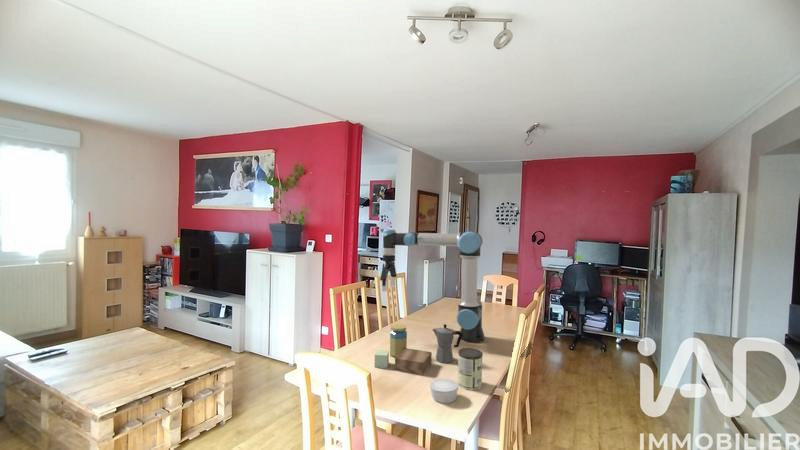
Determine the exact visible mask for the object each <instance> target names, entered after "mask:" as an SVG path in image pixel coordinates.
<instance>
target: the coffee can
mask: <svg viewBox="0 0 800 450" xmlns="http://www.w3.org/2000/svg"><path fill="white" fill-rule="evenodd" d="M457 354H458V356H457V357H458V359H457V361H458V365H457V367H458V372H457V375H458V376H457V384H458V387H459V388H461V389H464V390H467V391H468V390H469V391H477V390H480V389H481V388H482V386H483V384H482V383H483V382H482V381H483V352H482V351H481V350H479V349H476V348H473V347H463V348H460V349H458V352H457Z"/></svg>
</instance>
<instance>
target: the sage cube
mask: <svg viewBox="0 0 800 450" xmlns="http://www.w3.org/2000/svg"><path fill="white" fill-rule="evenodd" d="M389 357H390V350H380V349H378V350H377V349H376V351H375V354H374V368H379V369H380V368H381V369H387V368H388V365H389V362H390V361H389Z"/></svg>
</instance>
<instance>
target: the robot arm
mask: <svg viewBox="0 0 800 450" xmlns="http://www.w3.org/2000/svg"><path fill="white" fill-rule="evenodd" d="M382 234H383V235H382V254H383V255H382V262H384V263H382V269H381V274H380V281H381V292H387V290H388V289H387V288H388V284H387V283H388V282H387V279H388V275H389V274H390V283H389V285H390V287H389V288H396V277H397V270H396V265H395V264H396V263H395V261H396V246H406V247H410V246H411V247H412V246H414V245H416V246H417V245H419V246H438V247H439V246H441V247H458V249H459V250H458V251H459V254H458V255H459V256H460V258H461V285H460V286H461V293H460V295H461V297H460V299H461V300H459V301H458V308H457V309H458V311H457V314H456V322H457V324H458V326H459V327H460V330H459V331H460V333H461V334H462V338H461V341H463V342H465V343H466V342H467V343H481V342H484V341H485V333H484V330H483V321H482V320H483V303H482V301H480V300H477V299H478V297H477V296H478V259H479V258H480V257H481V247H482V245H483V237H482V236H481V234H480V233H478V232H477V231H473V230H472V231H465V232H459V233H437V232H436V233H435V232H434V233H431V232H396V230H395V229H384V230H383V232H382Z"/></svg>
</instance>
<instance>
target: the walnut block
mask: <svg viewBox="0 0 800 450" xmlns="http://www.w3.org/2000/svg"><path fill="white" fill-rule="evenodd" d="M432 354H433V353H432V352H431V351H429V350H428V351H427V350H421V349H413V348H409V347H408V348H404V349H403V350H402V352H401V353H400V354H399V355H398V356H397V357H394V371H397V372H404V373H408V374H414V375H420V376H424V375H425V374H426V373H427V371H428V370H429V368H430V366H431V364H432V357H433V356H432Z"/></svg>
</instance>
